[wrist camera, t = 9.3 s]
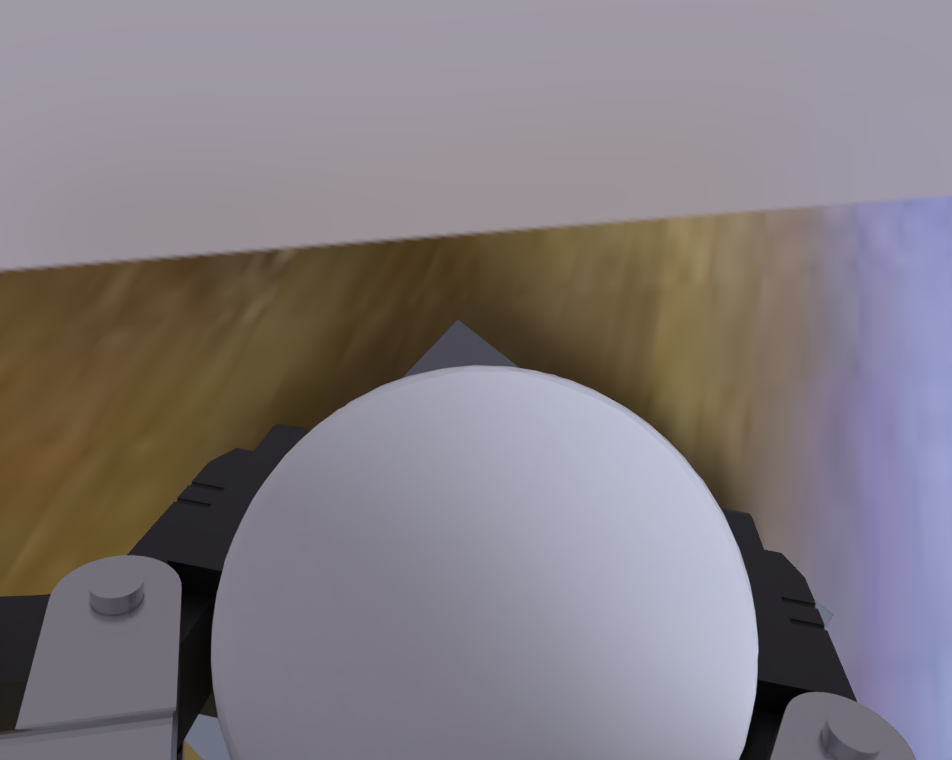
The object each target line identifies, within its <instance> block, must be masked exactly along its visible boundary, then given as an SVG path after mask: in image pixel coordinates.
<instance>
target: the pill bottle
mask: <svg viewBox="0 0 952 760" xmlns="http://www.w3.org/2000/svg"><path fill="white" fill-rule="evenodd" d="M211 668H212V681H213V691H214V697H215V703H216V708H217V714H218V720H219V725H220V728H221V731H222V734H223V737H224V740H225V743H226V746H227V749H228V752H229V755H230V758H231V760H739V759H740V756H741V754H742V751H743V749H744V746H745V743H746V738H747V734H748V730H749V725H750V721H751V717H752V712H753V707H754V702H755V696H756V687H757V673H758V634H757V624H756V614H755V608H754V602H753V597H752V591H751V586H750V582H749V578H748V575H747V572H746V568H745V565H744V562H743V559H742V556H741V552H740V549H739V547H738V545H737V543H736V541H735V538H734V536H733V534H732V532H731V529H730V527H729V525H728V522H727V520H726V518H725V515H724V514H723V512H722V510H721V509H720V507H719V505H718V504H717V502H716V500H715V499H714V497H713V495H712V494H711V492H710V491H709V489H708V487H707V486H706V484H705V483H704V481H703V479H702V478H701V477H700V476H699V475H698V474H697V473H696V472H695V470H694V469H693V468H692V466H691V465H690V464H689V463H688V461H687V460H686V459H685V457H684V456H683V455H682V454H681V453H680V452H679V451H678V450H677V449H676V448H675V447H674V446H673V445H672V444H671V443H670V442H669V441H668V440H667V439H666V438H665V437H664V436H662V435H661V434H660V433H659V432H658V431H657V430H656V429H654V428H653V427H652V426H651V425H650V424H649V423H647V422H646V421H645V420H643V419H642V418H640V417H639V416H638V415H636V414H635V413H633V412H632V411H631V410H629V409H628V408H626V407H624V406H623V405H621V404H619V403H617V402H615V401H613V400H612V399H610V398H608V397H606V396H605V395H603V394H601V393H599V392H597V391H596V390H594V389H591V388H589V387H586V386H584V385H582V384H579V383H577V382H574V381H572V380H569V379H565V378H561V377H558V376H556V375H554V374H547V373H543V372H539V371H535V370H529V369H522V368H516V367H510V366H486V365H471V366H461V367H451V368H443V369H438V370H434V371H429V372H425V373H420V374H416V375H411V376H407V377H404V378H402V379H399V380H396V381H393V382H390V383H387V384H384V385H382V386H380V387H378V388H376V389H374V390H372V391H370V392H368V393H367V394H365V395H363V396H361V397H359V398H356V399H354V400H353V401H351V402H349V403H348V404H347V405H346V406H344V407H342V408H340V409H338V410H337V411H335V412H334V413H333V414H332V415H330V416H329V417H327V418H326V419H325V420H323V421H322V422H320V423H319V424H318V425H317V426H316V427H314V428H313V429H312V430H311V431H310V432H309V433H308V434H307V435H305V436H304V437H303V438H302V439H301V440H300V441H299V442H298V443H297V444H296V445H295V446H294V447H293V448H292V449H291V450H290V451H289V452H288V453H287V454H286V455H285V456H284V457H283V459H282V460H281V461H280V463H279V464H278V465H277V466H276V468H275V469H274V470H273V471H272V473H271V474H270V475H269V477H268V478H267V479H266V480H265V482H264V483H263V485H262V486H261V488H260V489H259V491H258V492H257V494H256V495H255V496H254V498H253V500H252V502H251V504H250V505H249V507H248V509H247V511H246V513H245V515H244V517H243V519H242V521H241V523H240V525H239V527H238V530H237V532H236V534H235V536H234V538H233V541H232V543H231V546H230V549H229V551H228V554H227V556H226V559H225V562H224V567H223V571H222V575H221V579H220V583H219V587H218V591H217V595H216V602H215V609H214V616H213V624H212V640H211Z"/></svg>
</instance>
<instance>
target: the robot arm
mask: <svg viewBox="0 0 952 760" xmlns="http://www.w3.org/2000/svg"><path fill="white" fill-rule="evenodd" d="M310 431H311V430H309V429H303V428H298V427H293V426H287V425H282V424H277V425H275V426H274V427H273V428H272V430H271V431H270V432H269V433H268V435H267V436H266V437H265V438H264V440H263V441H262V442H261V443H260V445H259V446H258V447H257V448H256V450H255V451H249V450H244V449H238V448H236V449H234V450H232V451H230V452H228V453H226V454H224V455H222V456H220V457H218V458H217V459H215V460H213V461H211V462H209V463H208V464H207V465H206V466H205V467H204V469H203V470H202V471H201V472H200V473H199V474H198V475H197V476H196V478H195V479H194V480H193V481H192V484H191V486H189V485H188V487H187V488H186V489H185V490H184V491H183V492H182V493H181V495H180V496H179V497H178V500H177V502H173V504H172V505H171V506H170V507H169V508H168V509H167V510H166V511H165V513H164V514H163V515H162V516H161V517H160V518H159V519H158V521H157V522H156V523H155V524H154V525H153V526H152V527H151V528H150V530H149V531H148V532H147V533H146V534H145V535H144V536H143V538H142V539H141V540H140V541H139V542H138V543H137V544H136V545H135V547H134V548H133V549H132V550H131V551H130V552H129V553H128V554H127V555H123V556H114V557H108V558H104V559H100V560H96V561H93V562H90V563H88V564H86V565H83V566H81V567H79V568H77V569H76V570H74V571H72V572H71V573H69V574H68V575H67V576H65V577H64V578H63V579H62V580H61V581H60V582H59V583H58V584H57V585H56V587H55V588H54V589H53V591H52V593H51V594H48V595H35V596H7V597H0V760H184V739H185V737H186V736H187V734H188V732H189V730H190V729H191V727H192V725H193V723H194V722H195V720H196V718H197V716H198V715H199V714H201V715H205V716H210V717H215V718H218V714H217V708H216V703H215V697H214V691H213V681H212V668H211V640H212V624H213V616H214V609H215V602H216V595H217V591H218V587H219V583H220V579H221V575H222V571H223V567H224V562H225V559H226V556H227V554H228V551H229V549H230V546H231V543H232V541H233V538H234V536H235V534H236V532H237V530H238V527H239V525H240V523H241V521H242V519H243V517H244V515H245V513H246V511H247V509H248V507H249V505H250V504H251V502H252V500H253V498H254V496H255V495H256V494H257V492H258V491H259V489H260V488H261V486H262V485H263V483H264V482H265V480H266V479H267V478H268V477H269V475H270V474H271V473H272V471H273V470H274V469H275V468H276V466H277V465H278V464H279V463H280V461H281V460H282V459H283V457H284V456H285V455H286V454H287V453H288V452H289V451H290V450H291V449H292V448H293V447H294V446H295V445H296V444H297V443H298V442H299V441H300V440H301V439H302V438H303V437H304V436H305V435H307V434H308V433H309V432H310ZM720 509H721V510H722V512H723V514H724V515H725V518H726V520H727V522H728V525H729V527H730V529H731V532H732V534H733V536H734V538H735V541H736V543H737V545H738V547H739V549H740V552H741V556H742V559H743V562H744V565H745V568H746V572H747V575H748V578H749V582H750V586H751V591H752V597H753V602H754V608H755V614H756V624H757V634H758V673H757V687H756V696H755V702H754V707H753V712H752V717H751V721H750V725H749V730H748V734H747V738H746V743H745V746H744V749H743V751H742V754H741V756H740V759H739V760H916V758H915V756H914V754H913V752H912V750H911V748H910V747H909V745H908V744H907V742H906V741H905V739H904V738H903V737H902V736H901V735H900V734H899V732H898V731H897V730H896V729H895V728H894V727H892V726H891V725H890V724H889V723H888V722H887V721H886V720H884V719H883V718H882V717H881V716H879V715H878V714H876V713H875V712H873V711H872V710H870V709H869V708H867V707H865V706H863V705H861V704H860V703H858V702H857V700H856V698H855V696H854V693H853V691H852V688H851V686H850V684H849V681H848V679H847V677H846V674H845V672H844V669H843V667H842V665H841V662H840V660H839V658H838V655H837V653H836V650H835V648H834V646H833V643H832V641H831V639H830V636H829V634H828V631H827V630H824V626H825V624H824V622H823V620H822V617H821V615H820V612H819V610H818V609H817V608H815V605H816V603H815V601H814V598H813V596H812V593H811V591H810V589H809V586H808V584H807V582H806V579H805V577H804V576H803V575H802V574H801V573H800V572H799V571H798V570H797V569H796V568H795V567H794V566H793V565H792V564H791V563H790V562H789V561H788V559H787V558H786V557H785V556H784V555H783V554H782V553H779V552H773V551H768V550H764V549H763V546H762V543H761V540H760V538H759V535H758V532H757V529H756V527H755V524H754V521H753V519H752V516H751V515H750V514H749V513H744V512H739V511H734V510H729V509H723V508H720Z"/></svg>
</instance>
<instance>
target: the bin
mask: <svg viewBox="0 0 952 760" xmlns="http://www.w3.org/2000/svg"><path fill="white" fill-rule="evenodd" d="M471 365H486V366H510V367H516V368H519V367H518V366H517V365H515V364H514V363H513V362H512V361H510V360H509V359H508V358H507V357H505V356H504V355H503V354H501V353H500V352H499V351H498V350H496V349H495V348H494V347H493V346H491V345H490V344H489V343H487V342H486V341H485V340H484V339H482V338H481V337H480V336H479V335H477V334H476V333H475V332H474V331H472V330H471V329H470V328H468V327H467V326H466V325H465V324H463V323H462V322H461V321H460V320H457V321H456V322H455V323H454V324H453V325H452V326H451V327H450V328H449V329H448V330H447V331H446V332H445V333H444V334H443V335H442V336H441V338H440V339H439V340H438V341H437V342H436V343H435V344H434V345H433V346H432V347H431V348H430V349H429V350H428V351H427V352H426V353H425V354H424V355H423V356H422V357H421V359H420V360H419V361H418V362H417V363H416V364H415V365H414V366H413V367H412V368H411V369H410V370H409V371H408V372H407V373H406V374H405V375H404V376H403V377H402V378H404V377H407V376H411V375H416V374H420V373H425V372H429V371H434V370H438V369H443V368H451V367H461V366H471ZM402 378H401V379H402ZM814 601H815V603H816V605H815V608H817V609H818V610H819V612H820V615H821V617H822V620H823V622H824V624H825V626H824V629H825V628H826V626H827V625H828V623H829V622H830V620H831V619H832V617H833V616H834V614H832V613H831V612H830V611H828V610H827V609H826V608H825V607H823V606H822V605H821V604H820V603H818V602H817V601H816V600H815V599H814ZM184 740H185V741H186V742H187V743H188V744H189V745H190V746H191V747H192V748H193V749H194V751H195V752H196V753H197V754H198V755H199V756H200V757H201V758H202V759H203V760H231V758H230V755H229V752H228V749H227V746H226V743H225V740H224V737H223V734H222V731H221V728H220V725H219V720H218V718H215V717H210V716H205V715H201V714H199V715H198V716H197V718H196V720H195V722H194V723H193V725H192V727H191V729H190V730H189V732H188V734H187V736H186V737H185V739H184Z"/></svg>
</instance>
